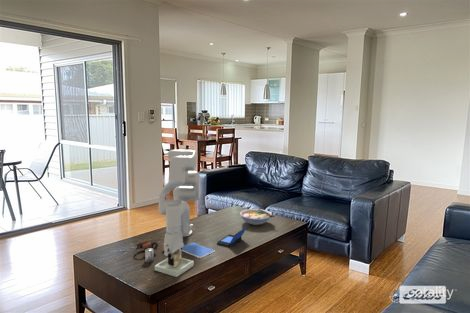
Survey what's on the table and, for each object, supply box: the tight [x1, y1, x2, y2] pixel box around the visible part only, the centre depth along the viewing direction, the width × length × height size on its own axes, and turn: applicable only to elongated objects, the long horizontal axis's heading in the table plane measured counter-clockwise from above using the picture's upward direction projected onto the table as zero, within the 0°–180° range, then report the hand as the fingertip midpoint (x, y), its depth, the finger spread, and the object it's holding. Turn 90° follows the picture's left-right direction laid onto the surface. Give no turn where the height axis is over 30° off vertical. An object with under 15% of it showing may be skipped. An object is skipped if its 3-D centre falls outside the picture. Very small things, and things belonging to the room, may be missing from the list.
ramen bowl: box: [239, 207, 275, 226], centre depth 238 cm, size 25×23×8 cm
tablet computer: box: [181, 242, 216, 259], centre depth 192 cm, size 19×13×1 cm, turn 49°
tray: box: [154, 257, 195, 278], centre depth 170 cm, size 14×14×2 cm
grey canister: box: [144, 248, 155, 263], centre depth 178 cm, size 4×4×6 cm
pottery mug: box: [135, 240, 159, 258], centre depth 188 cm, size 12×10×8 cm
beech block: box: [166, 251, 182, 267], centre depth 170 cm, size 5×5×6 cm
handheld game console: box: [216, 226, 248, 248], centre depth 203 cm, size 16×13×9 cm
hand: (174, 262), depth 170 cm, fingers closed on beech block, 4 cm apart
